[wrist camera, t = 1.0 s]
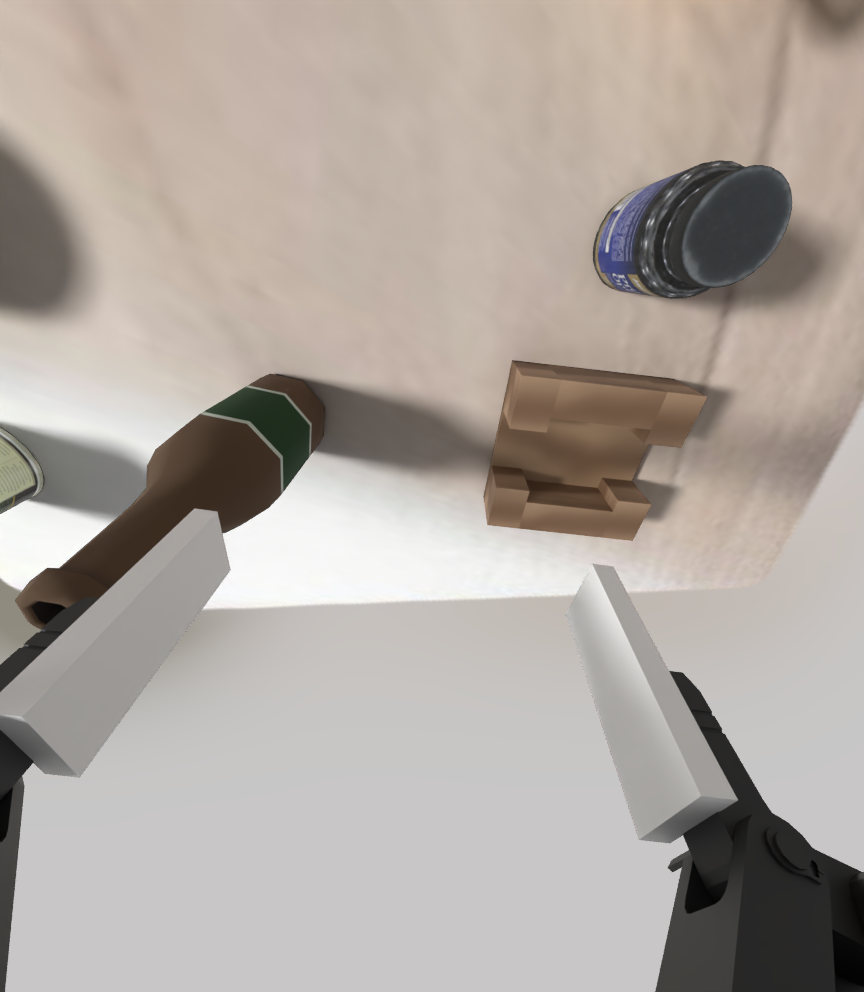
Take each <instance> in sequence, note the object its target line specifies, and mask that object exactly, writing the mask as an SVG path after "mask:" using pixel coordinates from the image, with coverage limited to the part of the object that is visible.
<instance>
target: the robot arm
mask: <svg viewBox="0 0 864 992" xmlns="http://www.w3.org/2000/svg"><path fill="white" fill-rule="evenodd" d="M229 571H230V565H229V561H228V557H227V552H226V548H225V543H224V539H223V534H222V530H221V525H220V521H219V517H218V512H216V511H209V510H202V509H194V510H192V511H191V512H190V513H189V514H188V515H187V516H186V517H185V518H184V519H183V520H182V521H181V522H180V523H179V524H178V525H177V526H176V527H174V528H173V529H172V530H171V531H170V532H169V533H168V534H167V535H166V536H165V537H164V538H163V539H162V540H161V541H160V542H159V543H158V544H157V545H155V546H154V547H153V548H152V549H151V550H150V551H149V552H148V553H147V554H146V555H145V556H144V557H143V558H142V559H141V560H140V561H139V562H137V563H136V564H135V565H134V566H133V567H132V568H131V569H130V570H129V571H128V572H127V573H126V574H125V575H124V576H123V577H122V578H121V579H119V580H118V581H117V582H116V583H115V584H114V585H113V586H112V587H111V588H110V589H109V590H108V591H107V592H106V593H105V594H104V595H103V596H101V597H100V598H93V597H85V598H83V599H82V600H80V601H78V602H76V603H74V604H73V605H71V606H69V607H67V608H66V609H64V610H62V611H61V612H60V613H59V614H57V615H56V616H55V617H54V618H53V619H52V620H51V621H49V622H48V623H47V624H46V625H45V626H44V627H43V628H42V629H41V632H39V633H36V634H35V635H34V636H33V637H32V638H30V639H29V640H28V641H27V642H26V643H25V644H24V647H23V648H19V649H18V650H17V651H16V652H14V653H13V654H12V655H11V656H10V657H9V658H8V659H7V660H5V661H4V662H3V663H2V664H1V665H0V992H5V983H6V973H7V962H8V951H9V942H10V931H11V921H12V910H13V900H14V890H15V879H16V868H17V858H18V848H19V837H20V826H21V815H22V806H23V795H24V782H23V778H22V775H23V774H24V773H25V772H26V770H27V769H28V768H29V767H30V766H31V764H32V763H34V764H35V765H36V766H37V767H38V768H39V769H40V770H42V771H43V772H44V773H45V774H53V775H62V776H70V777H80V776H81V775H82V773H83V772H84V771H85V769H86V768H87V767H88V765H89V764H90V762H91V761H92V760H93V758H94V757H95V756H96V754H97V753H98V751H99V750H100V749H101V747H102V746H103V745H104V743H105V742H106V740H107V739H108V738H109V736H110V735H111V733H112V732H113V731H114V729H115V728H116V727H117V725H118V724H119V723H120V721H121V719H122V718H123V717H124V716H125V714H126V713H127V712H128V710H129V709H130V707H131V706H132V705H133V703H134V702H135V701H136V699H137V698H138V696H139V695H140V694H141V692H142V691H143V689H144V688H145V687H146V685H147V684H148V683H149V681H150V680H151V679H152V677H153V676H154V674H155V673H156V672H157V670H158V669H159V668H160V666H161V665H162V663H163V662H164V661H165V659H166V658H167V657H168V655H169V654H170V652H171V651H172V650H173V648H174V647H175V646H176V644H177V643H178V641H179V640H180V639H181V637H182V636H183V635H184V633H185V632H186V630H187V629H188V627H189V626H190V625H191V624H192V622H193V621H194V619H195V618H196V617H197V615H198V614H199V613H200V611H201V610H202V608H203V607H204V606H205V604H206V603H207V602H208V600H209V599H210V597H211V596H212V595H213V593H214V592H215V591H216V589H217V588H218V586H219V585H220V584H221V582H222V581H223V580H224V578H225V577H226V575H227V574H228V573H229ZM566 617H567V620H568V623H569V626H570V629H571V632H572V635H573V638H574V641H575V645H576V647H577V651H578V654H579V657H580V660H581V663H582V666H583V669H584V672H585V675H586V678H587V681H588V684H589V688H590V691H591V693H592V697H593V699H594V703H595V706H596V709H597V712H598V715H599V718H600V721H601V724H602V727H603V730H604V734H605V736H606V740H607V743H608V746H609V749H610V752H611V755H612V758H613V761H614V764H615V767H616V770H617V773H618V777H619V780H620V782H621V786H622V789H623V792H624V795H625V798H626V801H627V804H628V807H629V810H630V813H631V816H632V819H633V823H634V826H635V829H636V832H637V835H638V838H639V840H645V841H654V842H664V843H671V842H673V841H674V840H676V839H677V838H679V837H681V836H682V835H683V836H684V838H685V841H686V843H687V845H688V848H689V850H688V851H687V852H685V853H683V854H681V855H680V856H678V857H677V858H675V859H673V860H672V861H671V863H670V865H669V866H668V868H669V869H670V870H671V871H672V872H674V871H676V870H678V869H679V868H681V867H682V870H681V874H680V879H679V884H678V888H677V893H676V898H675V902H674V907H673V912H672V916H671V921H670V926H669V931H668V935H667V940H666V945H665V949H664V954H663V959H662V964H661V968H660V973H659V978H658V982H657V987H656V992H864V872H861V871H859V870H857V869H854V868H852V867H850V866H848V865H846V864H844V863H842V862H840V861H838V860H836V859H833V858H832V857H829V856H827V855H825V854H823V853H821V852H819V851H817V850H815V849H813V848H812V847H811V846H810V844H809V843H808V842H807V841H806V840H805V838H804V837H803V836H802V835H801V834H800V833H799V832H798V831H797V830H796V829H794V828H793V827H792V826H791V825H790V824H789V823H788V822H786V821H785V820H783V819H781V818H780V817H778V816H776V815H775V814H773V813H772V812H771V811H770V810H769V808H768V806H767V805H766V803H765V802H764V800H763V799H762V797H761V796H760V794H759V792H758V790H757V789H756V787H755V785H754V784H753V782H752V780H751V778H750V777H749V775H748V773H747V771H746V770H745V768H744V766H743V764H742V763H741V761H740V759H739V758H738V756H737V754H736V752H735V751H734V749H733V747H732V746H731V744H730V742H729V740H728V739H727V737H726V735H725V734H723V733H722V728H721V727H720V725H719V723H718V722H717V720H716V718H715V717H714V716H712V711H711V709H710V708H709V706H708V704H707V703H706V701H705V699H704V698H703V696H702V694H701V692H700V691H699V690H698V689H697V688H696V687H695V686H694V684H693V683H692V682H691V681H690V680H689V679H688V678H687V677H686V676H685V675H684V674H683V673H681V672H673V671H669V670H668V668H667V666H666V665H665V663H664V661H663V659H662V657H661V655H660V653H659V651H658V650H657V648H656V646H655V644H654V642H653V640H652V639H651V637H650V635H649V633H648V631H647V629H646V627H645V625H644V623H643V621H642V620H641V618H640V616H639V614H638V612H637V610H636V608H635V607H634V605H633V603H632V601H631V599H630V597H629V595H628V593H627V592H626V590H625V588H624V586H623V584H622V582H621V580H620V578H619V577H618V575H617V573H616V571H615V569H614V567H612V566H605V565H597V564H592V565H591V567H590V569H589V571H588V573H587V575H586V577H585V579H584V581H583V582H582V584H581V586H580V588H579V590H578V592H577V594H576V596H575V598H574V600H573V602H572V604H571V606H570V608H569V609H568V611H567V613H566Z"/></svg>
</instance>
